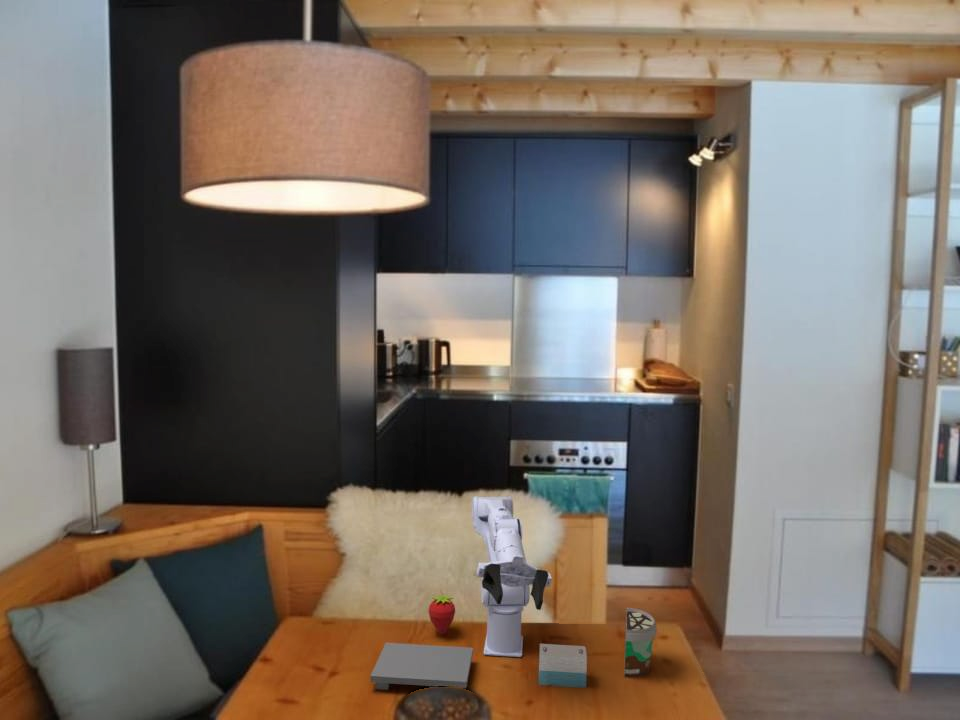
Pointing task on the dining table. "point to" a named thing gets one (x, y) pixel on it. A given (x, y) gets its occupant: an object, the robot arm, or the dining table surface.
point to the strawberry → (441, 613)
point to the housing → (562, 665)
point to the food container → (638, 642)
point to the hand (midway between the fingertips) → (520, 602)
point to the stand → (422, 665)
